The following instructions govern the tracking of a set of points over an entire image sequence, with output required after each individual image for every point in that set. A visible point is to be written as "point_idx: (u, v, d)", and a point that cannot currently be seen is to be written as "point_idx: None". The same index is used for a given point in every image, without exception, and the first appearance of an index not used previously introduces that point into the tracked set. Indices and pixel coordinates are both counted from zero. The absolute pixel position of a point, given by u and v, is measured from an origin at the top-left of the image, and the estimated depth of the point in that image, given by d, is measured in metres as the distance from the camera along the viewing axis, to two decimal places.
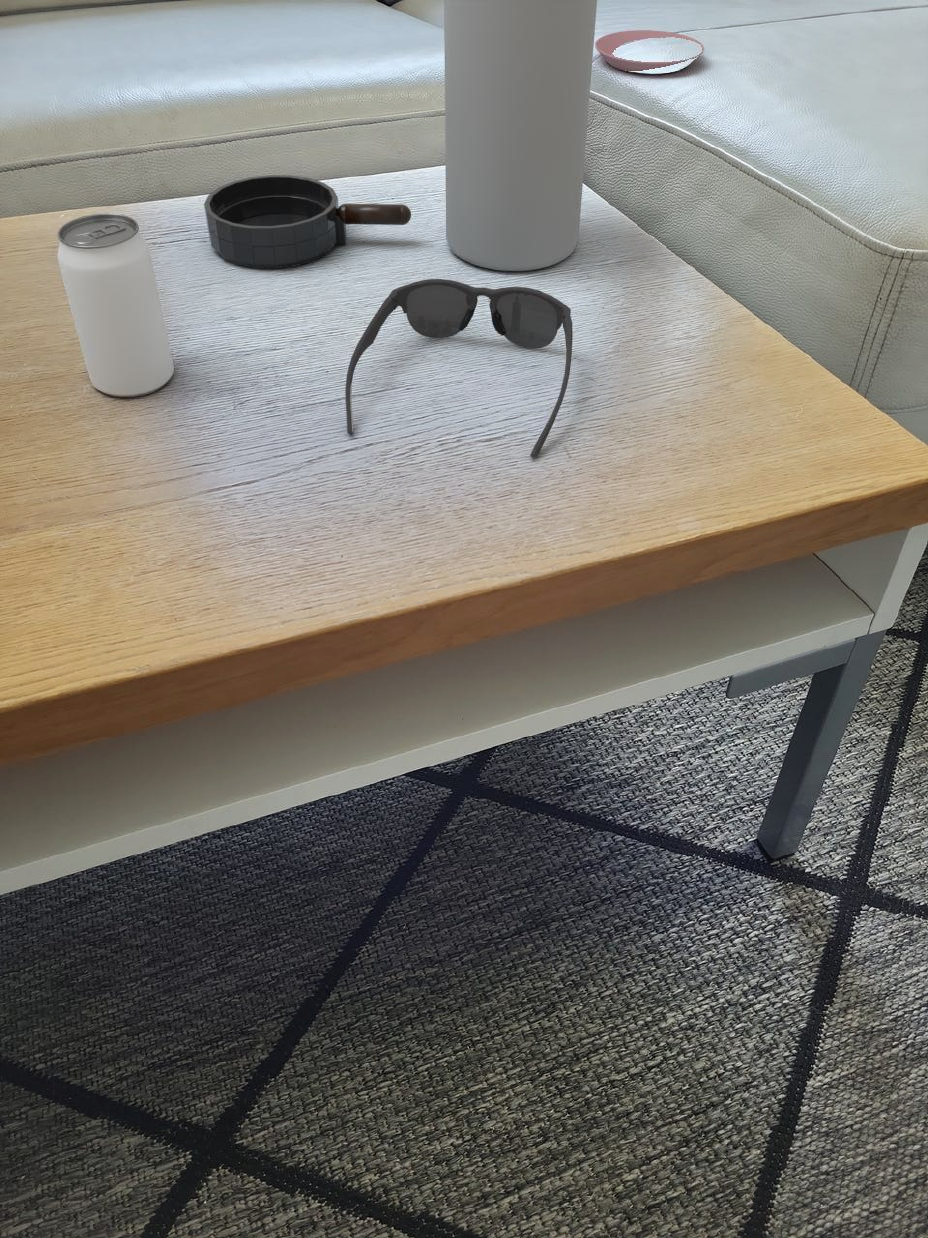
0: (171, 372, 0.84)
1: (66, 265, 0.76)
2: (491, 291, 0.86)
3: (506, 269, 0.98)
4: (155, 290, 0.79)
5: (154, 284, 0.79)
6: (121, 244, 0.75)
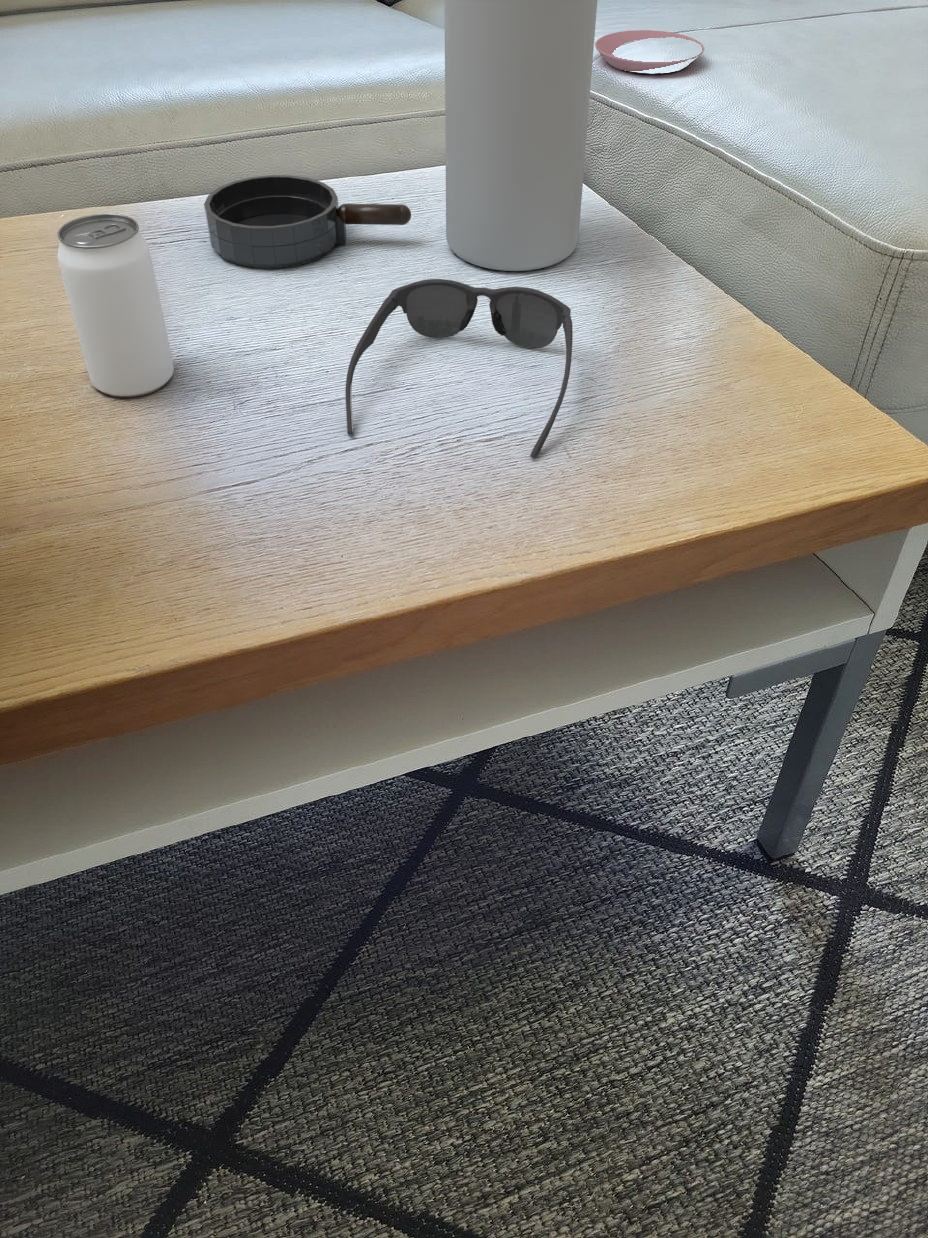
0: (171, 372, 0.84)
1: (66, 265, 0.76)
2: (491, 291, 0.86)
3: (506, 269, 0.98)
4: (155, 290, 0.79)
5: (154, 284, 0.79)
6: (121, 244, 0.75)
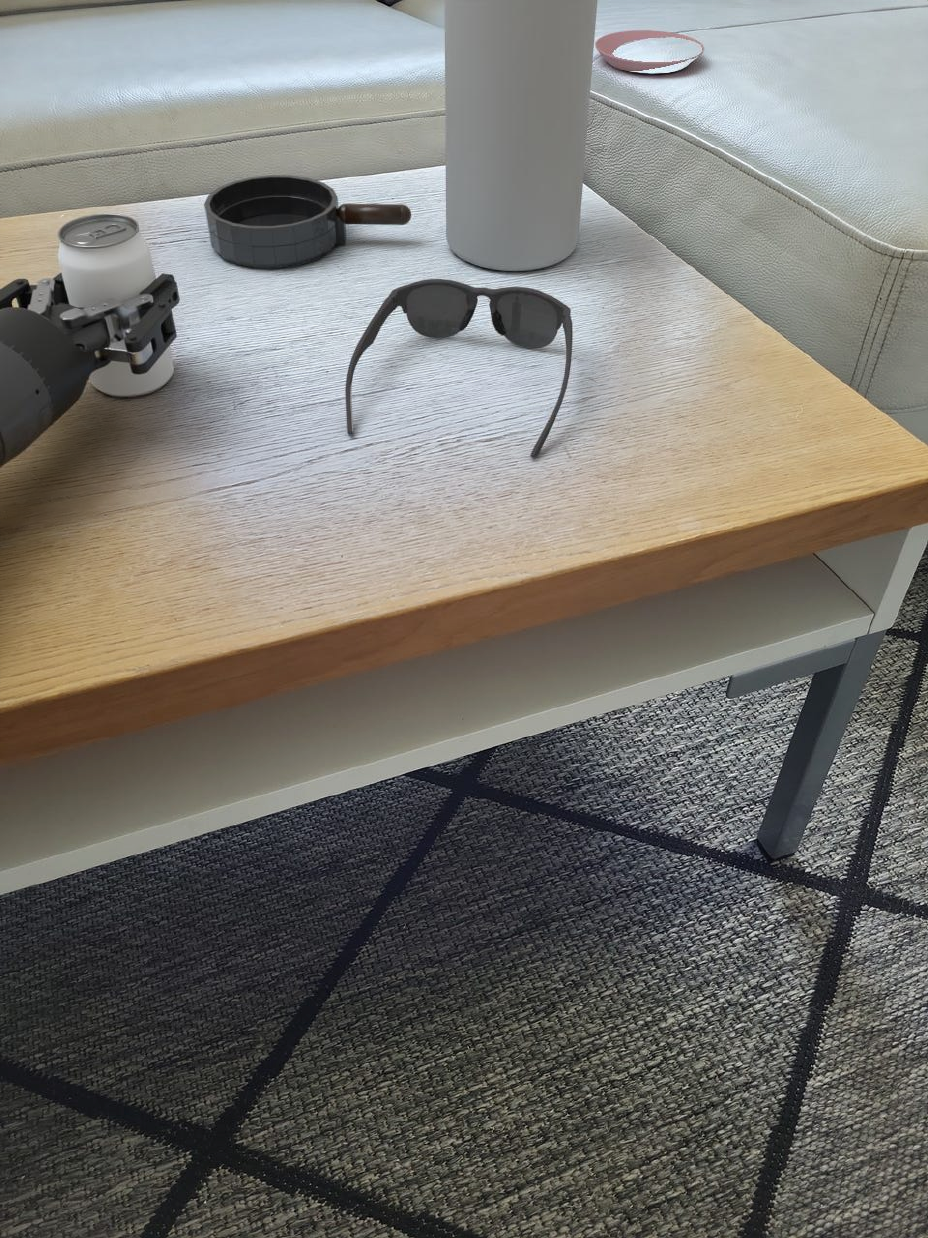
0: (171, 372, 0.84)
1: (66, 264, 0.76)
2: (491, 291, 0.86)
3: (506, 269, 0.98)
4: None
5: None
6: (122, 245, 0.75)
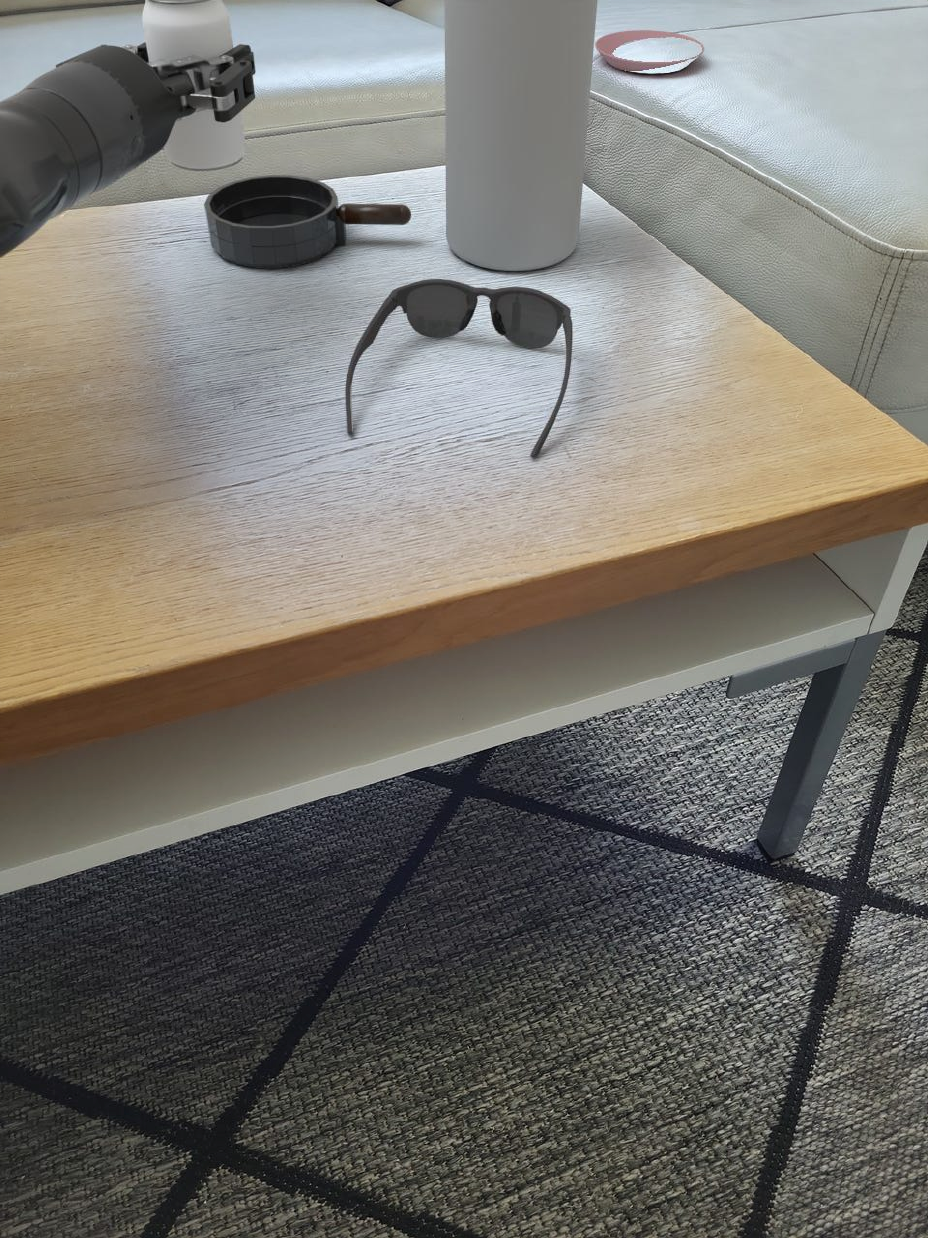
0: (244, 150, 0.87)
1: (151, 23, 0.79)
2: (491, 291, 0.86)
3: (506, 269, 0.98)
4: None
5: None
6: (205, 3, 0.79)
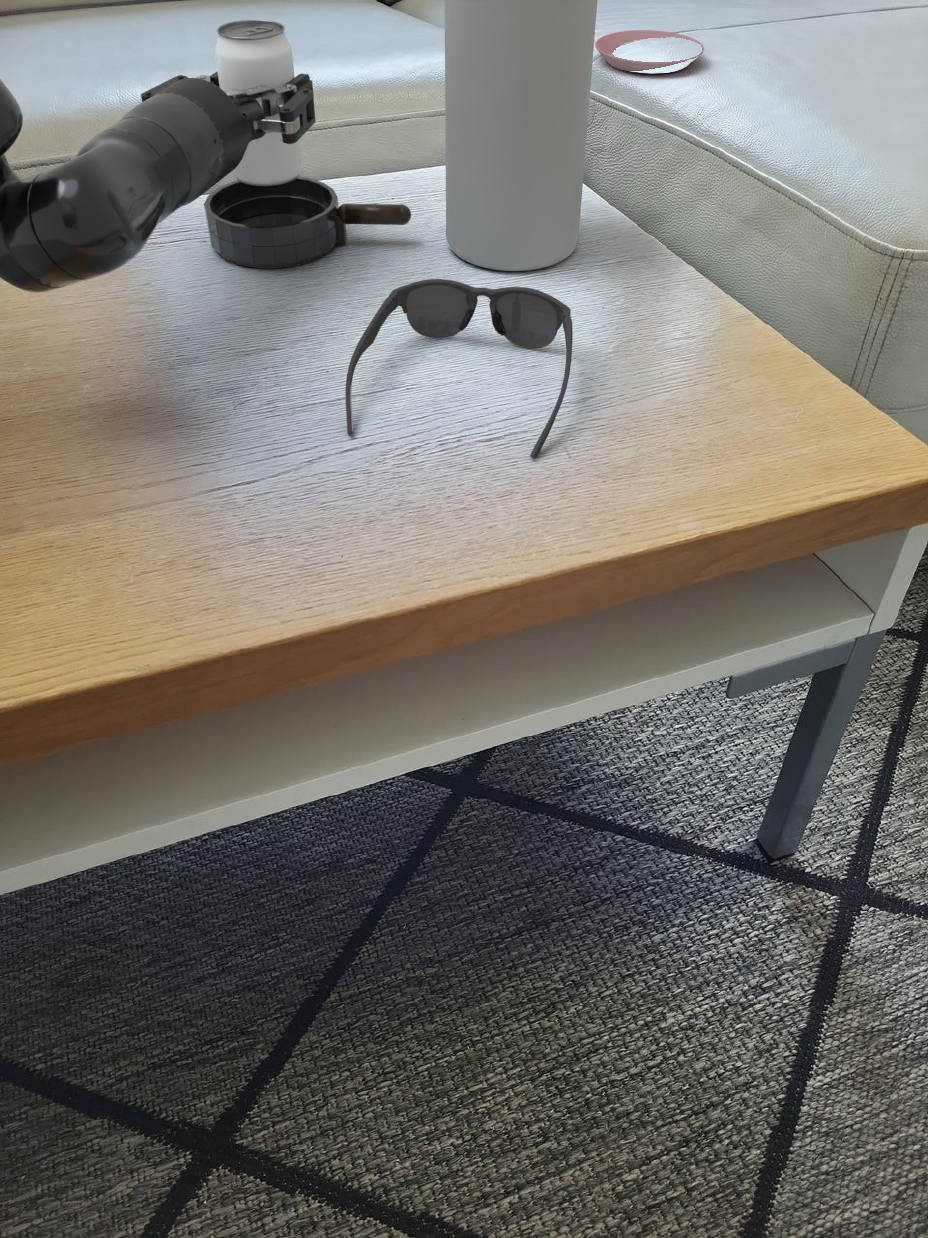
0: (301, 167, 0.97)
1: (224, 56, 0.89)
2: (491, 291, 0.86)
3: (506, 269, 0.98)
4: None
5: None
6: (272, 38, 0.89)
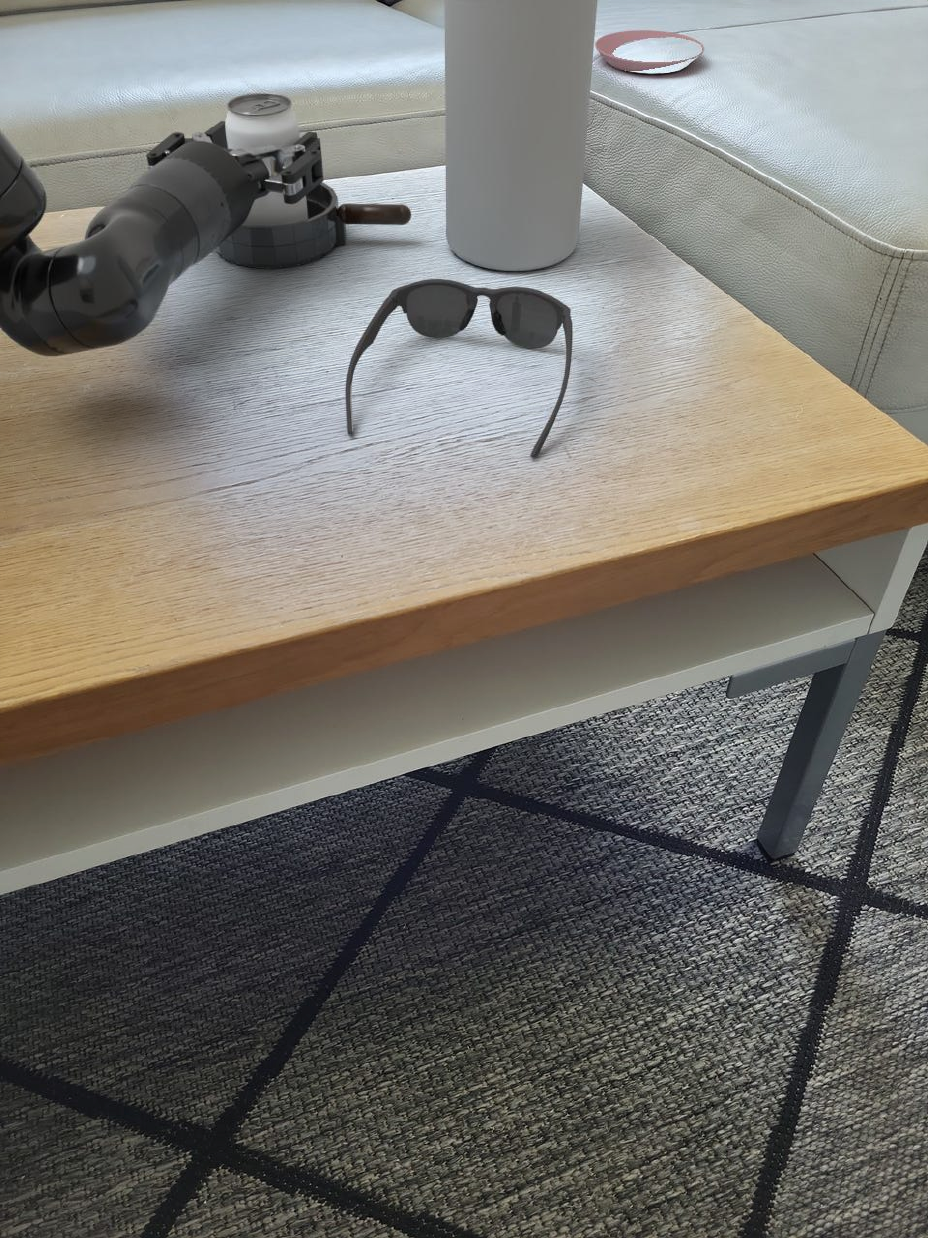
0: None
1: (234, 130, 0.93)
2: (491, 291, 0.86)
3: (506, 269, 0.98)
4: None
5: None
6: (280, 114, 0.93)
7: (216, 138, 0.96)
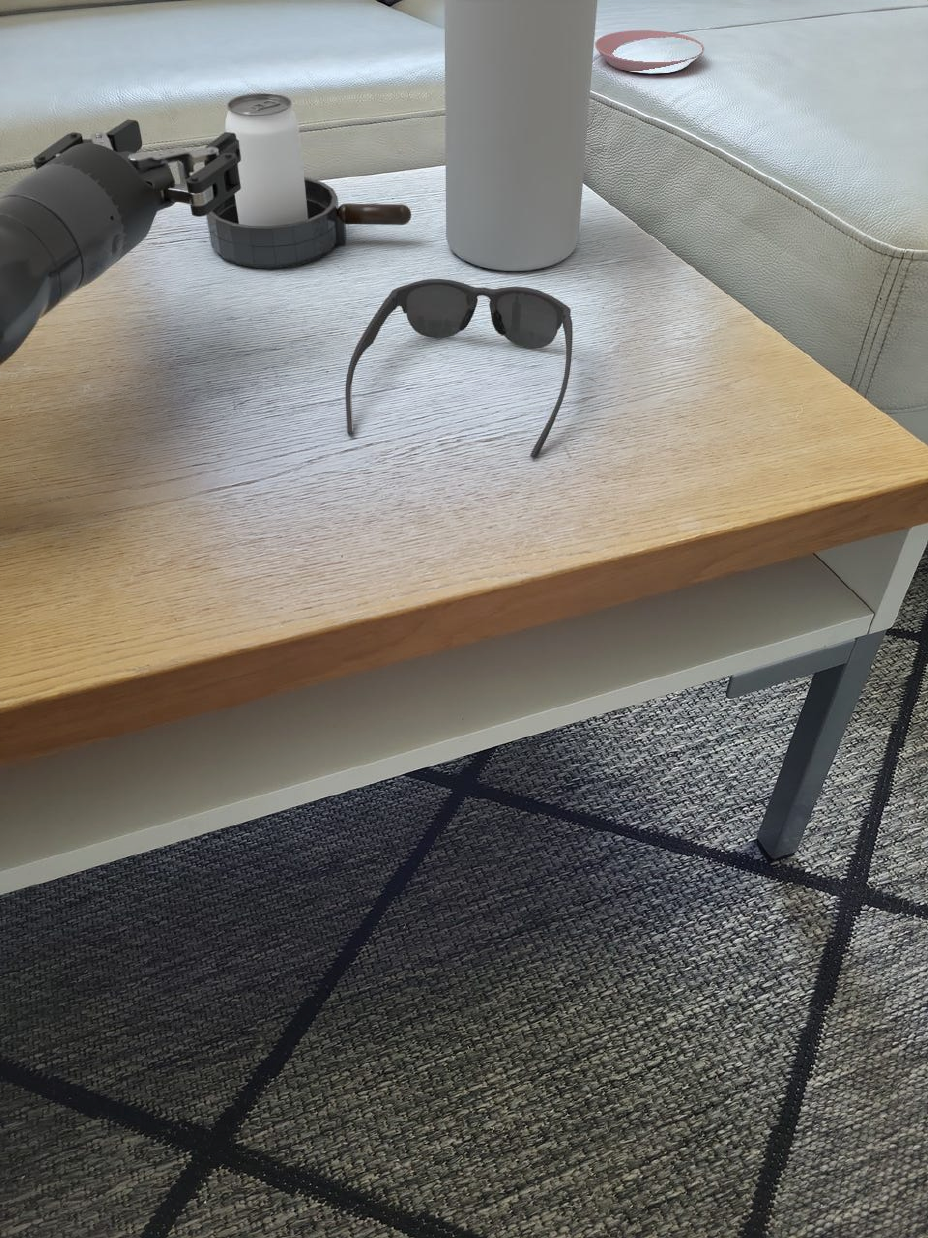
0: None
1: (234, 130, 0.93)
2: (491, 291, 0.86)
3: (506, 269, 0.98)
4: (301, 157, 0.97)
5: (300, 151, 0.97)
6: (280, 114, 0.93)
7: (120, 139, 0.84)
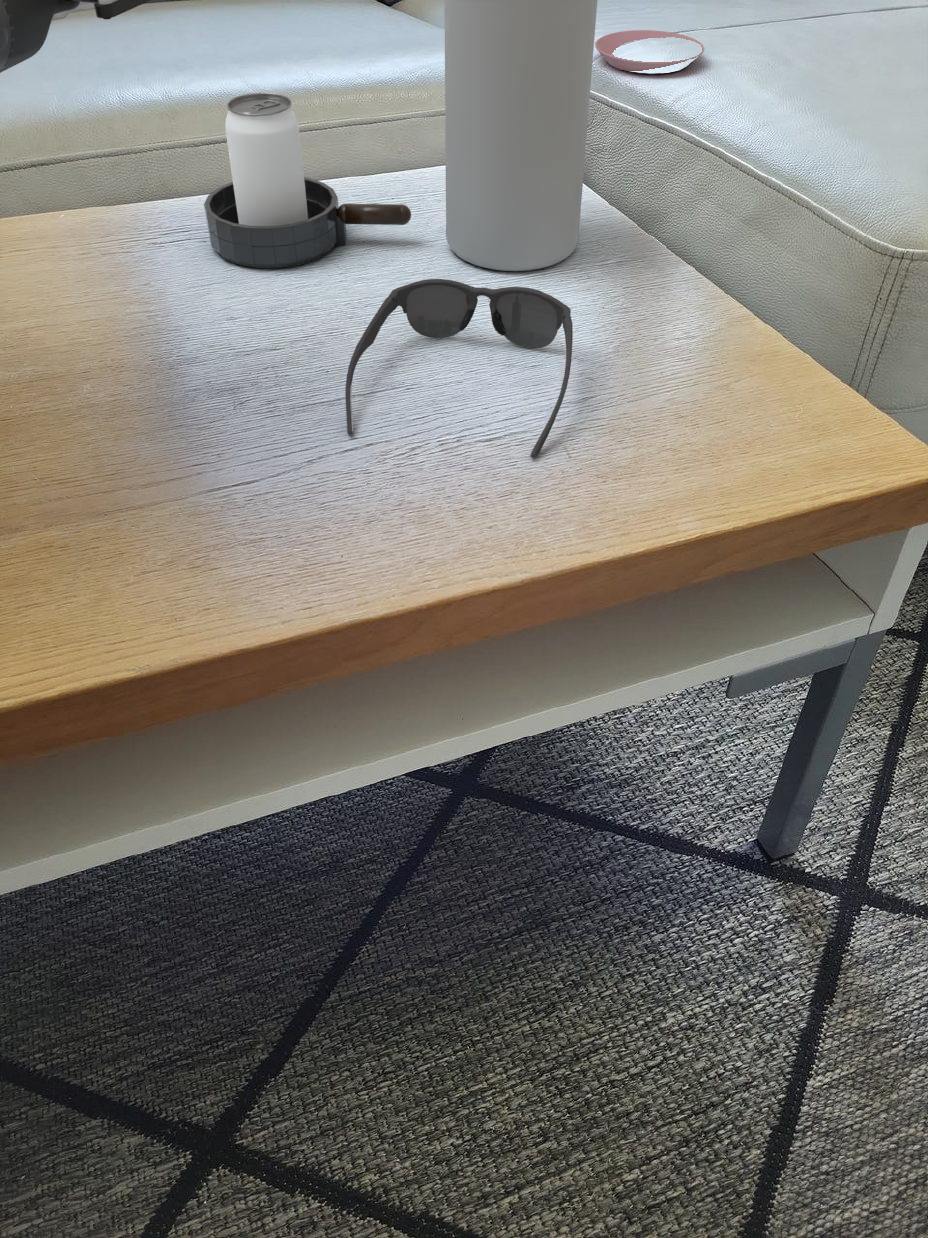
0: None
1: (234, 130, 0.93)
2: (492, 291, 0.86)
3: (506, 269, 0.98)
4: (301, 157, 0.97)
5: (300, 151, 0.97)
6: (280, 114, 0.93)
7: None
